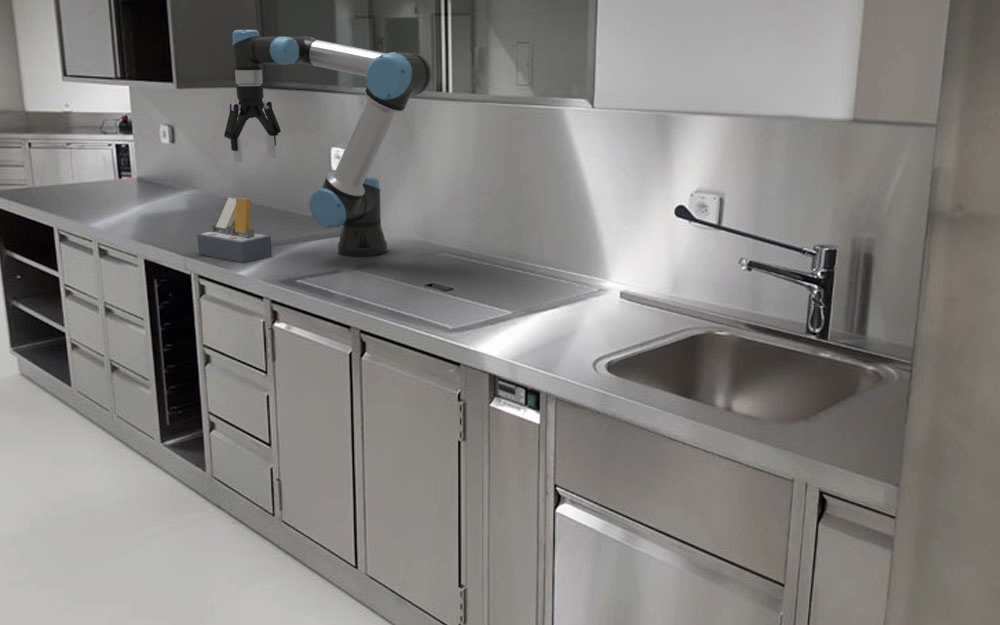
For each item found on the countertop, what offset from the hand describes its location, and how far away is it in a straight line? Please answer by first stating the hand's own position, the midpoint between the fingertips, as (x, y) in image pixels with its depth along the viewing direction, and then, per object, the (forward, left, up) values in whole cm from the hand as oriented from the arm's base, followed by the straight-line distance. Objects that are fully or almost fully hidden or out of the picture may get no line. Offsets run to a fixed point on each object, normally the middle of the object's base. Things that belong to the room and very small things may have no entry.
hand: (255, 159), depth 275 cm
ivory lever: (+9, +7, -21) cm, 24 cm away
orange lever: (0, +7, -21) cm, 22 cm away
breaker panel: (+4, +7, -28) cm, 29 cm away
